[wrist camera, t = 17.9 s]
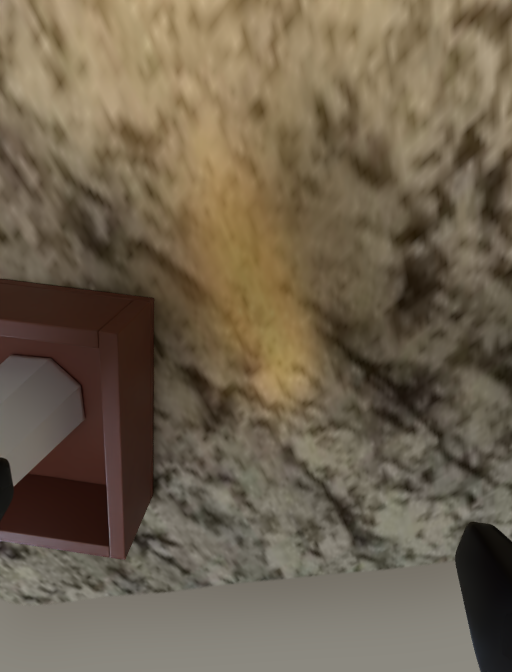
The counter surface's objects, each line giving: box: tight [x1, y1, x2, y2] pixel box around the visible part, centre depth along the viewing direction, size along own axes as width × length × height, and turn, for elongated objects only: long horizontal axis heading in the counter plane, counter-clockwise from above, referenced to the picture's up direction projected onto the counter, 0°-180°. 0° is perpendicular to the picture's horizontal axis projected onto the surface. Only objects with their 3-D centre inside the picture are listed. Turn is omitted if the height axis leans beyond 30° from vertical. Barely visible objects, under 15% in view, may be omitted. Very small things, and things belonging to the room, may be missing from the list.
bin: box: [0, 279, 154, 560], centre depth 21 cm, size 13×13×5 cm
